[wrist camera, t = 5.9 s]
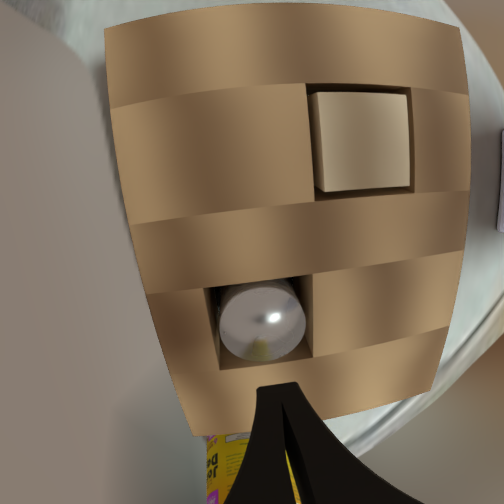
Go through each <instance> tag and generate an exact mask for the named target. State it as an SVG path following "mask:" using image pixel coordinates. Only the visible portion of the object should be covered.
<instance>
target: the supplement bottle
mask: <svg viewBox="0 0 504 504" xmlns="http://www.w3.org/2000/svg"><path fill="white" fill-rule="evenodd" d="M250 434H251V432H244V433H234V434H222V435H209V436H207V504H223V503H224V501H225V499H226V497H227V495H228V493H229V491H230V489H231V487H232V485H233V483H234V481H235V478H236V476H237V474H238V471H239V469H240V466H241V463H242V461H243V458H244V454H245V451H246V448H247V445H248V442H249V438H250ZM285 451H286V450H285ZM286 458H287V464H288V468H289V473H290V478H291V482H292V487H293V491H294V496H295V500H296V504H301V501H300V497H299V493H298V490H297V487H296V483H295V480H294V477H293V473H292V470H291V467H290V463H289V460H288V457H287V453H286Z"/></svg>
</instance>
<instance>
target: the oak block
mask: <svg viewBox="0 0 504 504" xmlns="http://www.w3.org/2000/svg"><path fill="white" fill-rule="evenodd" d="M104 37H105V57H106V72H107V84H108V95H109V105H110V114H111V122H112V130H113V138H114V145H115V152H116V158H117V164H118V171H119V177H120V182H121V188H122V193H123V199H124V204H125V209H126V214H127V219H128V224H129V228H130V233H131V237H132V242H133V246H134V251H135V255H136V259H137V263H138V267H139V271H140V275H141V279H142V283H143V287H144V291H145V294H146V298H147V302H148V305H149V309H150V312H151V316H152V319H153V322H154V326H155V329H156V332H157V336H158V339H159V342H160V345H161V348H162V352H163V355H164V358H165V361H166V364H167V367H168V370H169V373H170V376H171V378H172V381H173V384H174V387H175V390H176V392H177V395H178V398H179V401H180V403H181V406H182V408H183V411H184V414H185V416H186V419H187V422H188V424H189V426H190V429H191V432H192V434H193V436H209V435H222V434H234V433H244V432H251V430H252V425H253V421H254V415H255V409H256V389H257V388H258V387H260V386H268V385H275V384H281V383H288V382H294V381H295V382H297V383H298V384H299V386H300V388H301V390H302V392H303V393H304V395H305V397H306V398H307V400H308V401H309V403H310V404H311V406H312V407H313V409H314V410H315V412H316V413H317V414H318V416H319V417H320V418H321V420H326V419H331V418H335V417H340V416H344V415H349V414H353V413H357V412H361V411H365V410H368V409H372V408H376V407H380V406H383V405H387V404H390V403H393V402H397V401H400V400H403V399H406V398H409V397H413V396H416V395H419V394H422V393H424V392H427V391H430V390H431V387H432V384H433V381H434V378H435V375H436V372H437V368H438V365H439V362H440V359H441V355H442V352H443V348H444V345H445V341H446V337H447V334H448V330H449V326H450V322H451V318H452V313H453V309H454V304H455V300H456V295H457V290H458V285H459V279H460V273H461V268H462V261H463V255H464V248H465V240H466V231H467V222H468V211H469V198H470V179H471V124H470V106H469V93H468V83H467V74H466V66H465V59H464V52H463V46H462V40H461V35H460V29H459V28H458V27H455V26H451V25H448V24H444V23H441V22H437V21H433V20H429V19H424V18H420V17H416V16H411V15H406V14H401V13H396V12H390V11H384V10H378V9H371V8H363V7H355V6H345V5H333V4H318V3H252V4H237V5H225V6H215V7H207V8H199V9H192V10H186V11H179V12H174V13H168V14H163V15H158V16H153V17H149V18H144V19H140V20H136V21H131V22H128V23H124V24H120V25H116V26H113V27H109V28H106V29H104ZM317 92H362V93H384V94H399V95H406V100H407V113H408V130H409V161H410V186H398V187H382V188H368V189H355V190H342V191H330V192H324V191H322V190H321V189H319V188H318V187H316V186H315V185H314V183H313V167H312V153H311V140H310V128H309V116H308V106H307V96H306V95H311V94H314V93H317ZM286 277H293V284H294V290H295V293H296V295H297V298H298V300H299V302H300V305H301V307H302V310H303V312H304V315H305V319H306V328H305V332H304V335H303V337H302V339H301V341H300V342H299V344H298V345H297V346H296V347H295V348H294V349H293V350H292V351H290V352H289V353H287V354H286V355H284V356H282V357H280V358H277V359H274V360H270V361H263V362H255V361H249V360H245V359H242V358H240V357H238V356H236V355H234V354H233V353H231V352H230V351H229V350H228V349H227V348H226V346H225V345H224V343H223V341H222V339H221V336H220V317H219V312H218V306H217V301H216V295H215V289H214V287H216V286H224V285H232V284H240V283H248V282H256V281H264V280H271V279H279V278H286Z"/></svg>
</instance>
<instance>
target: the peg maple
mask: <svg viewBox="0 0 504 504" xmlns="http://www.w3.org/2000/svg"><path fill="white" fill-rule="evenodd" d="M307 106H308V116H309V128H310V140H311V153H312V167H313V183H314V185H315V186H316V187H318V188H319V189H321V190H322V191H324V192H330V191H342V190H355V189H368V188H382V187H398V186H410V161H409V130H408V113H407V100H406V95H399V94H384V93H362V92H317V93H314V94H311V95H309V96H307Z"/></svg>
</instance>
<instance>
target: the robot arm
mask: <svg viewBox="0 0 504 504" xmlns="http://www.w3.org/2000/svg"><path fill="white" fill-rule="evenodd" d="M497 230H498V231H499V232H501V233H504V130H503V132H502V173H501V191H500V203H499V213H498V222H497ZM285 450H286V451H285ZM286 453H287V457H288V460H289V463H290V467H291V470H292V473H293V477H294V480H295V483H296V487H297V490H298V493H299V497H300V501H301V504H424V503H422V502H420V501H418V500H416V499H414V498H412V497H411V496H409V495H407V494H405V493H404V492H402V491H400V490H398V489H397V488H395V487H394V486H393V485H391V484H390V483H388V482H387V481H385V480H384V479H382V478H381V477H379V476H378V475H377V474H375V473H374V472H373V471H372V470H370V469H369V468H368V467H367V466H365V465H364V464H363V463H362V462H361V461H360V460H359V459H357V458H356V457H355V456H354V455H353V454H352V453H351V452H350V451H349V450H348V449H347V448H346V447H345V446H344V445H343V444H342V443H341V442H340V441H339V440H338V439H337V438H336V436H335V435H334V434H333V433H332V432H331V431H330V430H329V428H328V427H327V426H326V425H325V423H324V422H323V421H322V420H321V418H320V417H319V416H318V414H317V413H316V412H315V410H314V409H313V407H312V406H311V404H310V403H309V401H308V400H307V398H306V397H305V395H304V393H303V392H302V390H301V388H300V386H299V384H298V383H297V382H295V381H294V382H288V383H281V384H275V385H268V386H260V387H258V388H257V389H256V409H255V415H254V421H253V425H252V430H251V434H250V438H249V442H248V445H247V448H246V451H245V454H244V458H243V461H242V463H241V466H240V469H239V471H238V474H237V476H236V478H235V481H234V483H233V485H232V487H231V489H230V491H229V493H228V495H227V497H226V499H225V501H224V503H223V504H296V500H295V496H294V491H293V487H292V482H291V478H290V473H289V468H288V464H287V458H286Z"/></svg>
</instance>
